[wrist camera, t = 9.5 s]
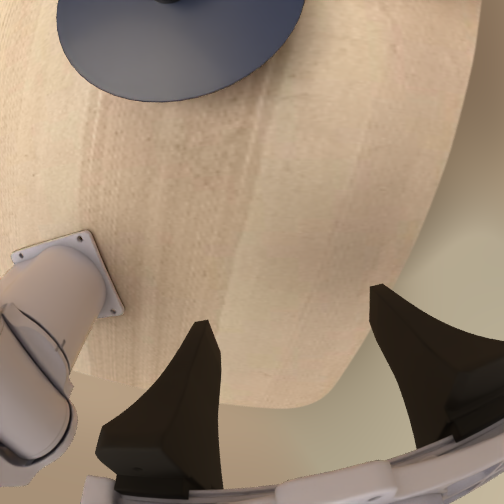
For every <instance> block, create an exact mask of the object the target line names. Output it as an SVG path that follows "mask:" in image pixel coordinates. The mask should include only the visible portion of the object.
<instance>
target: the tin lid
mask: <svg viewBox="0 0 504 504" xmlns="http://www.w3.org/2000/svg"><path fill="white" fill-rule="evenodd" d="M304 1H305V0H58V5H57V16H56V18H57V31H58V35H59V40H60V43H61V46H62V48H63V51H64V53H65V55H66V57H67V58H68V60H69V62H70V63H71V65H72V66H73V67H74V68H75V69H76V71H77V72H78V73H79V74H80V75H81V76H82V77H84V78H85V79H86V80H87V81H88V82H89V83H91V84H93V85H94V86H96V87H97V88H99V89H101V90H103V91H105V92H107V93H110V94H112V95H114V96H118V97H122V98H125V99H129V100H135V101H142V102H173V101H182V100H187V99H193V98H198V97H201V96H204V95H208V94H211V93H214V92H217V91H219V90H221V89H224V88H226V87H229V86H231V85H233V84H234V83H236V82H238V81H240V80H242V79H244V78H246V77H247V76H248V75H250V74H251V73H253V72H254V71H256V70H257V69H259V68H260V67H261V66H262V65H263V64H264V63H266V62H267V61H268V60H269V59H270V58H271V57H272V56H273V55H274V54H275V53H276V52H277V51H278V50H279V49H280V48H281V46H282V45H283V44H284V43H285V41H286V40H287V39H288V37H289V36H290V34H291V33H292V31H293V30H294V28H295V26H296V24H297V22H298V20H299V18H300V15H301V12H302V8H303V5H304Z"/></svg>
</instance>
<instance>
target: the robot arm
mask: <svg viewBox="0 0 504 504" xmlns="http://www.w3.org/2000/svg"><path fill="white" fill-rule="evenodd" d="M79 236H81V237H82V238H83V240H81V239H80V238H79ZM22 254H23V256H22ZM11 259H12V261H13V263H14V265H13V266H12V267H11V268H10V269H9V270H8V271H7V272H6V273H5V274H4V275H3V276H2V278H1V279H0V487H17V486H26V485H28V484H29V483H30V481H31V480H32V479H33V477H34V476H35V475H36V474H37V473H38V472H39V471H40V470H41V469H42V468H44V467H45V466H47V465H49V464H50V463H52V462H54V461H56V460H57V459H58V458H59V457H61V456H62V455H63V454H64V452H65V451H66V450H67V449H68V447H69V446H70V444H71V442H72V440H73V438H74V436H75V432H76V429H77V423H78V417H77V411H76V409H75V407H74V405H73V403H72V402H71V401H70V400H69V397H70V395H71V392H72V390H73V387H74V386H73V385H72V383H71V382H70V379H69V375H70V372H71V370H72V368H73V366H74V364H75V362H76V359H77V357H78V355H79V353H80V351H81V349H82V347H83V345H84V343H85V341H86V339H87V336H88V334H89V332H90V330H91V328H92V326H93V325H94V323H95V321H96V319H97V318H105V317H112V316H119V315H122V314H123V313H124V310H125V309H124V307H123V305H122V303H121V301H120V298H119V296H118V294H117V292H116V290H115V288H114V286H113V283H112V281H111V279H110V277H109V275H108V272H107V270H106V268H105V265H104V263H103V261H102V258H101V256H100V254H99V251H98V249H97V246H96V244H95V241H94V239H93V236H92V234H91V232H89V231H88V230H83V231H80V232H76V233H73V234H69V235H66V236H62V237H59V238H56V239H52V240H49V241H46V242H42V243H39V244H36V245H33V246H29V247H26V248H23V249H20V250H17V251H14V252H13V253H12V254H11ZM112 309H113V310H115V311H113V310H112ZM369 322H370V325H371V328H372V330H373V333H374V336H375V338H376V341H377V343H378V345H379V347H380V348H381V351H382V352H383V354H384V356H385V358H386V360H387V362H388V364H389V366H390V368H391V370H392V372H393V374H394V375H395V378H396V380H397V382H398V385H399V388H400V391H401V394H402V397H403V399H404V402H405V406H406V409H407V412H408V415H409V419H410V423H411V427H412V431H413V434H414V438H415V443H416V448H417V449H416V450H414V451H411V452H408V453H405V454H403V455H400V456H397V457H394V458H391V459H388V460H375V461H370V462H365V463H362V464H358V465H354V466H350V467H346V468H342V469H339V470H334V471H330V472H324V473H320V474H315V475H309V476H304V477H300V478H295V479H291V480H287V481H285V482H283V483H281V484H277V485H269V486H260V487H250V488H238V489H223V482H222V474H221V464H220V453H219V440H218V439H219V437H218V406H219V395H220V384H221V353H220V350H219V347H218V344H217V342H216V339H215V337H214V334H213V331H212V329H211V326H210V324H209V321H208V320H204V321H198V322H195V323H194V324H193V326H192V327H191V329H190V331H189V333H188V334H187V336H186V338H185V340H184V341H183V343H182V345H181V346H180V348H179V349H178V351H177V353H176V354H175V356H174V357H173V359H172V360H171V362H170V363H169V365H168V366H167V368H166V369H165V370H164V372H163V373H162V374H161V376H160V377H159V378H158V379H157V380H156V382H155V383H154V384H153V385H152V386H151V387H150V388H149V389H148V390H147V392H145V393H144V394H143V395H142V396H141V397H140V398H139V399H138V400H137V401H136V402H135V403H134V404H133V405H131V406H130V407H129V408H128V409H126V410H125V411H124V412H123V413H121V414H120V415H119V416H117V417H116V418H114V419H113V420H111V421H110V422H108V423H107V424H105V425H103V426H102V429H101V432H100V435H99V439H98V443H97V447H96V451H95V454H96V456H97V458H98V459H99V460H100V461H101V462H102V463H103V464H105V465H106V466H107V467H108V468H110V469H111V470H112V471H113V472H115V473H116V474H117V477H116V481H115V480H113V479H110V478H105V477H98V476H92V475H88V476H87V477H86V481H85V485H84V489H83V494H82V498H81V503H80V504H449V503H451V502H453V501H455V500H457V499H459V498H461V497H463V496H465V495H466V494H468V493H470V492H472V491H473V490H475V489H477V488H479V487H480V486H482V485H484V484H485V483H487V482H488V481H490V480H492V479H493V478H495V477H496V476H498V475H499V474H501V473H502V472H504V341H500V340H495V339H489V338H485V337H481V336H477V335H474V334H471V333H468V332H465V331H462V330H460V329H457V328H455V327H452V326H450V325H448V324H445V323H444V322H441V321H439V320H437V319H436V318H434V317H432V316H430V315H428V314H427V313H425V312H423V311H422V310H420V309H418V308H417V307H415V306H414V305H412V304H411V303H409V302H408V301H406V300H405V299H403V298H402V297H401V296H399V295H398V294H396V293H395V292H394V291H392V290H391V289H390V288H388V287H387V286H385V285H384V284H379V285H375V286H370V313H369Z"/></svg>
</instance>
